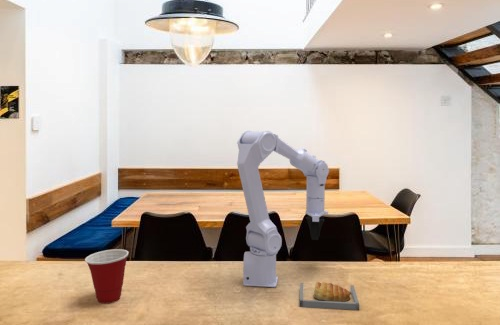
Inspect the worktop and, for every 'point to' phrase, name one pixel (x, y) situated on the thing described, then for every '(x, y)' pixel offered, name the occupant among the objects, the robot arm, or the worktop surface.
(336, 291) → the pastry
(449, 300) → the worktop surface
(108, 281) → the plastic cup
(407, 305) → the worktop surface
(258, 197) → the robot arm
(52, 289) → the worktop surface
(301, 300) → the grey u-shaped bracket
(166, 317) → the worktop surface
